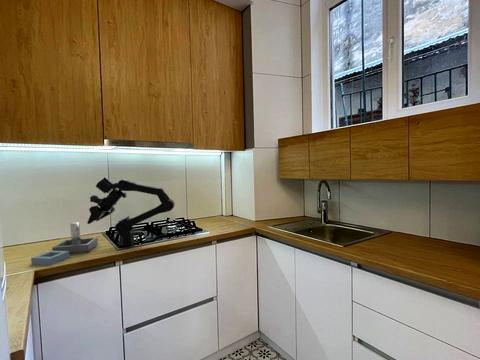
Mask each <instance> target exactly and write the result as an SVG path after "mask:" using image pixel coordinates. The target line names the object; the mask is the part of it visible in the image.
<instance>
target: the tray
mask: <svg viewBox="0 0 480 360" xmlns="http://www.w3.org/2000/svg"><path fill="white" fill-rule="evenodd" d="M98 239H99V238H98V236H97V237H85V238H83V237H82V238H81V245H72V241H71V238H70V239H64V240H62V241H61V242H59V243H58V244H56V245H54V246H52V248H51V251H69V255H76V254H87V253H90V252H91V251H93V250H94V248H96V247H97V246H98V245H99V240H98Z"/></svg>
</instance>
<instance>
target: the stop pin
mask: <svg viewBox="0 0 480 360" xmlns="http://www.w3.org/2000/svg"><path fill="white" fill-rule="evenodd" d="M69 225H70V226H69V228H70V236H71V237H70V239H71V241H72V245H81V239H82V237H81V227H80V222H79V221H75V222H74V221H73V222H70V223H69Z"/></svg>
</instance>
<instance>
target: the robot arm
mask: <svg viewBox="0 0 480 360" xmlns="http://www.w3.org/2000/svg"><path fill="white" fill-rule="evenodd" d="M95 187H96V188H97V189H98V190H99V191H101V192H102V193H103V194H108V195H107V196H106V197H102V196H99V195H98V194H93V195H91V196H90V197H89V200H90V201H89V202H91V203H95V204H97V205H93V206H92V205H91V206H90V208H88V210H89V213H90V215H89V218H88V220H87V222H86V224H87V225H90V224H92V223H93V222H95V221H96V222H99V221H100V220H102V219H104V218H107V217H108V216H110V215H112V214H113V213H114V212H115V211H116V208H115V207H114V206H116V205H117V204H118V202H119V201H120V199H121V198H123V199H125V198H127V197H128V196H127V192H139V193H143V194H149V195H155V196H157V198H158V199H159V202H160V204H159V205H157V206H156V207H154V208H151V209H149V210H147V211H145V212H143V213H140V214H138V215H136V216H134V217H130V216H129V215H128V216H126V217H124V218H121V219H119V220H118V221H117V223H116V224H115V227H114V230H115V231H116V232H117V233H118V235H119V246H120V245H122V246H124V247H123V248H131V247H133V246H135V245H134V243H135V233H134V231H135V227H134V226H135V225H137V224H139V223H142V222H144V221H146V220H148V219H150V218H152V217H154V216H157V215H159V214H162V213H163V214H164V213H167V212H171V211H172V210H173V209H174V207H175V204H176V203H175V202H174V200H173V199H171V198H170V197H169V195H168V194H167V193H166V192H165V190H164V188H162V187H154V186H150V185H146V184H145V185H144V184H141V183H136V182H134V181H132V180H129V179H126V178H125V179H121V180H120V179H119V181H118V182H115V183H113V182H112V181H111V180H110V179H109V178H108V177H106V176H105V177H103V178H102V179H100V180H99V181H98V182H97V183H96V185H95Z"/></svg>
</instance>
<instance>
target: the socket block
mask: <svg viewBox="0 0 480 360" xmlns="http://www.w3.org/2000/svg"><path fill="white" fill-rule="evenodd" d="M70 256H71V255H70V254H69V251H52V250H50V251H46V252H43V253H41V254H38V255H35V256H32V257H31V258H30V262H31V265H32V266H33V265H34V266H53V265H55V264H58V263H60V262H62V261H64V260H67V259H69V258H71V257H70Z"/></svg>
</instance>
